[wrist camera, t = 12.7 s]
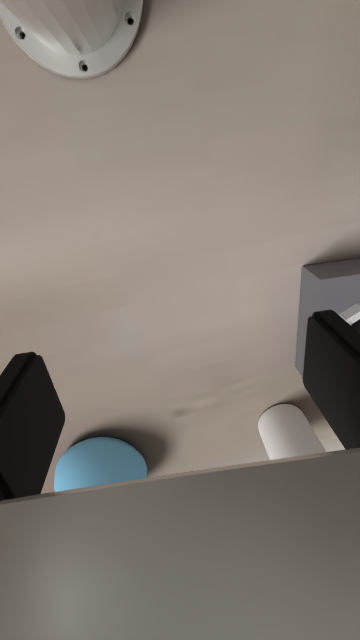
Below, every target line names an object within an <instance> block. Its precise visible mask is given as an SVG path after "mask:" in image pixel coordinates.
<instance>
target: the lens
mask: <svg viewBox="0 0 360 640" xmlns="http://www.w3.org/2000/svg"><path fill="white" fill-rule="evenodd" d="M351 326H352V327H353V328H355V329H356V330H357V331H358V332H359V333H360V319H359V320H358V321H356V322H354V323H353V324H351Z"/></svg>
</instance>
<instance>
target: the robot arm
mask: <svg viewBox="0 0 360 640" xmlns="http://www.w3.org/2000/svg"><path fill="white" fill-rule="evenodd" d="M142 8H143V0H0V18H1V20H2V22H3V24H4V26H5V28H6V29H7V31H8V32H9V34H10V35H11V36H12V38H13V39H14V41H15V42H16V43H17V45H18V46H19V47H20V48H21V49H22V50H23V51H24V52H25V53H26V54H27V55H28V56H29V57H30V58H31V59H33V60H34V61H35V62H36V63H38V64H39V65H40V66H42V67H44V68H45V69H47V70H48V71H50V72H52V73H54V74H57V75H59V76H62V77H65V78H70V79H77V80H81V79H92V78H95V77H98V76H101V75H104V74H105V73H107V72H108V71H110V70H112V69H113V68H115V67H116V66H117V65H118V64H119V63H120V62H121V61H122V60H123V59H124V57H125V56H126V54H127V53H128V51H129V50H130V48H131V47H132V44H133V42H134V40H135V37H136V35H137V33H138V29H139V25H140V21H141V17H142ZM129 19H132V20H133V24H132V25H129V24H128V20H129ZM23 33H25V35H26V36H25V38H24V39H22V38H21V35H22V34H23ZM84 65H87V67H88V70H87V71H83V66H84ZM303 383H304V386H305V388H306V390H307V391H308V393H309V394H310V396H311V397H312V399H313V400H314V402H315V403H316V405H317V406H318V408H319V409H320V411H321V412H322V414H323V416H324V417H325V419H326V420H327V422H328V423H329V425H330V426H331V428H332V429H333V431H334V432H335V434H336V435H337V437H338V438H339V440H340V442H341V443H342V445H343V446H344V448H345V449H346V450H339V451H331V452H324V453H317V454H309V455H302V456H295V457H288V458H281V459H274V460H267V461H260V462H253V463H245V464H238V465H232V466H225V467H218V468H211V469H204V470H197V471H190V472H184V473H177V474H170V475H163V476H156V477H150V478H143V479H136V480H129V481H123V482H116V483H110V484H103V485H97V486H90V487H83V488H77V489H70V490H64V491H57V492H51V493H44V494H41V491H42V488H43V485H44V482H45V479H46V476H47V473H48V470H49V467H50V464H51V461H52V458H53V455H54V452H55V449H56V446H57V443H58V440H59V437H60V434H61V431H62V428H63V425H64V422H65V413H64V410H63V408H62V405H61V403H60V400H59V398H58V395H57V393H56V390H55V388H54V385H53V383H52V380H51V378H50V376H49V373H48V371H47V368H46V366H45V363H44V361H43V358H42V357H41V356H40V355H36V353H34V352H28V353H21V354H16V355H15V356H14V357H13V358H12V359H11V361H10V362H9V364H8V365H7V367H6V368H5V369H4V371H3V372H2V374H1V375H0V640H360V333H359V332H358V331H357V330H356V329H355V328H353V327H352V326H351V325H350V324H349V323H348V322H346V321H345V320H344V319H343V318H342V317H341V316H339V315H338V314H337V313H336V312H335V311H333V310H332V309H331V310H323V311H316V312H314V313H313V315H312V316H310V317H309V318H308V321H307V332H306V344H305V356H304V368H303Z"/></svg>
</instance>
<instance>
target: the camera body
mask: <svg viewBox="0 0 360 640" xmlns="http://www.w3.org/2000/svg"><path fill="white" fill-rule="evenodd" d="M331 309H332V310H333V311H335V312H336V313H337V314H338V315H339V316H341V317H342V318H343V319H344V320H345V321H346V322H348V323H349V324H350V325H351V324H353V323H354V322H356V321H358V320H359V319H360V258H356V259H349V260H342V261H335V262H328V263H321V264H314V265H306V266H302V274H301V289H300V304H299V318H298V333H297V348H296V362H295V367H296V368H297V370H298V371H299V373H300V374H301V375H302V377H303V368H304V356H305V344H306V332H307V321H308V318H309V317H310V316H312V315H313V313H314V312H316V311H323V310H331Z"/></svg>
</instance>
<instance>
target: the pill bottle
mask: <svg viewBox="0 0 360 640" xmlns="http://www.w3.org/2000/svg"><path fill="white" fill-rule="evenodd" d="M258 429H259V432H260V435H261V438H262V440H263V443H264V445H265V448H266V451H267V453H268V456H269V458H270V460H274V459H281V458H288V457H295V456H302V455H309V454H317V453H324V452H326V451H325V449H324V447H323V446H322V444H321V442H320V441H319V439H318V437H317V435H316V434H315V432H314V430H313V429H312V427H311V425H310V424H309V422H308V420H307V419H306V417H305V415H304V414H303V412H302V411H301V410H300V409H299V408H298V407H296V406H294V405H291V404H279V405H276V406H273V407H271V408H269V409H268V410H266V411H265V412H264V413H263V414H262V415H261V417H260V419H259V422H258Z"/></svg>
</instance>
